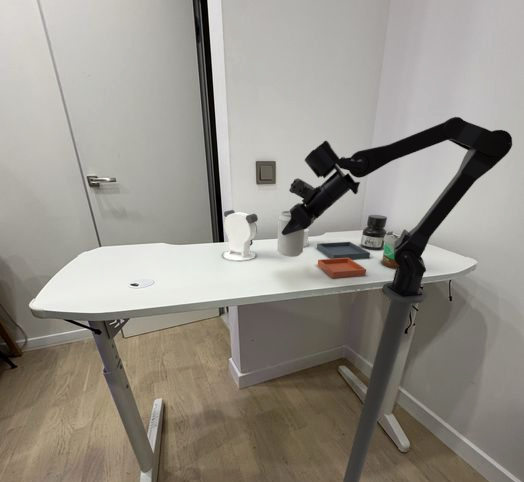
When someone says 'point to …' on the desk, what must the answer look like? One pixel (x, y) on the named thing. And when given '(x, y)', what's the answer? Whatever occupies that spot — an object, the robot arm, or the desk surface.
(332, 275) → the terracotta tray
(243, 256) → the panda figurine
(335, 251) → the grey tray
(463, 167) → the robot arm
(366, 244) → the ink bottle
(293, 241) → the can
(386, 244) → the food container
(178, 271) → the desk surface
